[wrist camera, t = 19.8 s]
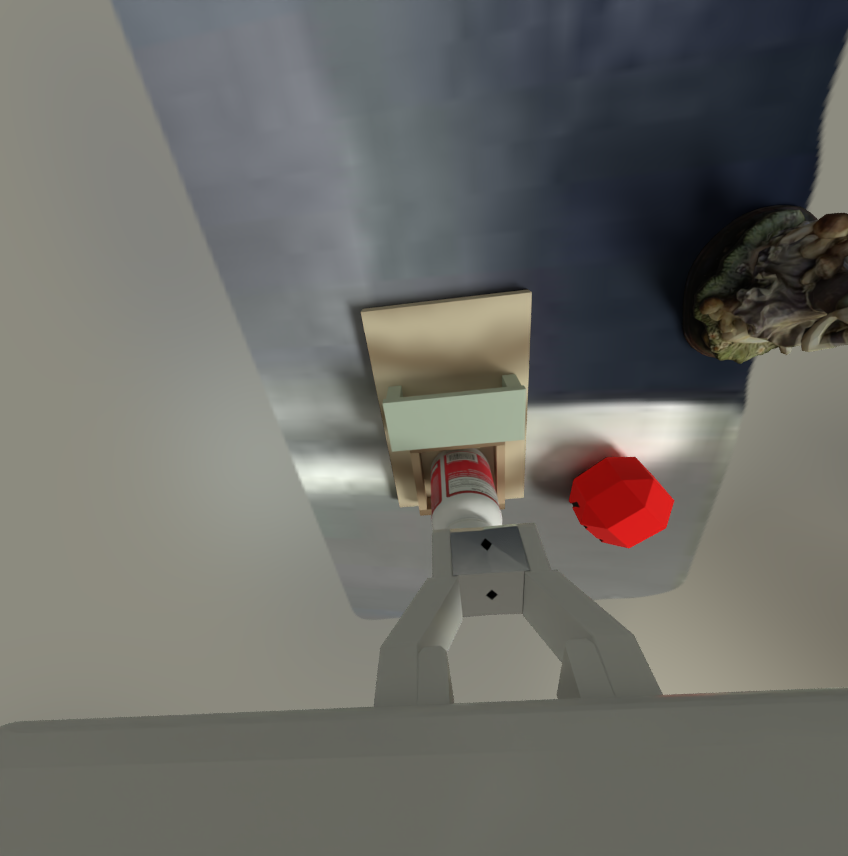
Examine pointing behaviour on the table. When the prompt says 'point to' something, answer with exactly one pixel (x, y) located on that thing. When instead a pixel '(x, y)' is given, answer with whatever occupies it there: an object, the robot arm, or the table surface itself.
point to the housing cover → (456, 416)
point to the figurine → (770, 285)
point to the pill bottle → (463, 491)
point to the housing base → (451, 374)
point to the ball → (620, 501)
